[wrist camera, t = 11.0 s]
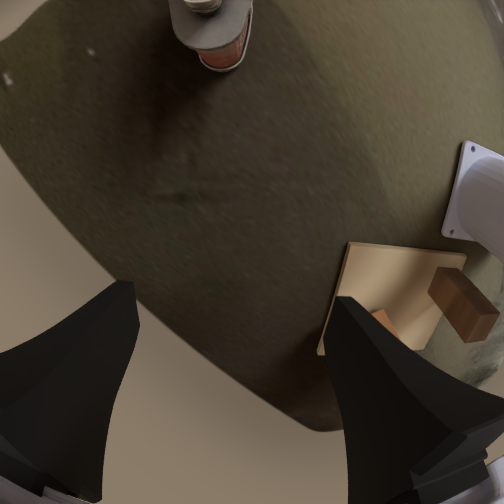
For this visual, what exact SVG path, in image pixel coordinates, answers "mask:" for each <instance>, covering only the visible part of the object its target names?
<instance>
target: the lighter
mask: <svg viewBox="0 0 504 504" xmlns="http://www.w3.org/2000/svg"><path fill="white" fill-rule="evenodd" d="M252 4H253V0H169V7H170V13H171V19H172V25H173V30H174V32H175V34H176V37H177V38H178V39H179V40H180V41H181V42H182V43H183V44H185V45H186V46H187V47H188V48H191V49H194V50H196V51H197V53H198V54H199V58H200V60H201V62H202V63H203V64H204V65H205V66H206V67H207V68H208V69H211V70H213V71H217V72H226V71H231V70H233V69H235V68H237V67H238V66H239V65H240V64H241V63H242V61H243V60H244V57H245V53H246V49H247V45H248V41H249V37H250V29H251V21H252V12H253V9H252Z"/></svg>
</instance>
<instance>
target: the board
mask: <svg viewBox="0 0 504 504" xmlns="http://www.w3.org/2000/svg"><path fill="white" fill-rule="evenodd" d="M466 259H467V256H466V255H465V254H464V253H456V252H447V251H437V250H428V249H419V248H409V247H399V246H389V245H379V244H369V243H358V242H348V245H347V249H346V253H345V257H344V260H343V264H342V268H341V272H340V275H339V279H338V283H337V286H336V290H335V293H334V297H333V300H332V304H331V307H330V310H329V313H328V317H327V320H326V323H325V326H324V330H323V333H322V336H321V339H320V342H319V345H318V348H317V354H318V355H325V351H324V344H323V335H324V331H325V329H326V326H327V323H328V319H329V316H330V313H331V310H332V306H333V303H334V300H335V296H351V297H353V298H354V299H355V300H356V301H357V302H358V303H360V304H361V305H362V306H363V307H364V308H365V309H366V310H367V311H368V312H369V313H370V314H372V313H375V312H377V311H380V310H382V309H384V311H385V313H386V315H387V316H388V318H389V320H390V322H391V323H392V325H393V327H394V329H395V331H396V332H397V334H398V336H399V338H400V340H401V341H402V342H403V343H404V344H405V345H406V346H408V347H409V348H410V349H411V350H421V349H424V347H425V345H426V344H427V342H428V340H429V338H430V336H431V335H432V333H433V331H434V329H435V327H436V325H437V323H438V321H439V319H440V317H441V315H442V311H441V310H440V309H439V307H438V306H437V305H436V303H435V302H434V301H433V299H432V298H431V297H430V296H429V294H428V293H427V291H428V289H429V287H430V284H431V282H432V279H433V277H434V274H435V272H436V269H437V267H449V268H458V269H459V270H460V271H462V269H463V266H464V264H465V261H466Z"/></svg>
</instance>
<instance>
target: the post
mask: <svg viewBox="0 0 504 504" xmlns="http://www.w3.org/2000/svg"><path fill="white" fill-rule="evenodd" d="M427 293H428V294H429V296H430V297H431V298H432V299H433V301H434V302H435V303H436V305H437V306H438V307H439V309H440V310H441V311H442V313H443V314H444V315H445V317H446V318H447V319H448V321H449V322H450V323H451V325H452V326H453V328H454V329H455V330H456V332H457V333H458V335H459V336H460V337H461V339H462V340H463V342H464V343H471V342H477V341H483V340H485V339H486V338H487V336H488V334H489V333H490V331H491V329H492V327H493V326H494V324H495V322H496V320H497V319H498V317H499V315H500V312H499V311H498V310H497V309H496V308H495V307H494V306H493V305H492V303H491V302H490V301H489V300H488V299H487V298H486V297H485V296H484V295H483V294H482V293H481V291H480V290H479V289H478V288H477V287H476V286H475V285H474V284H473V283H472V282H471V281H470V280H469V279H468V278H467V277H466V276H465V275H464V274H463V273H462V272H461V271H460V270H459V269H458V268H449V267H437V269H436V272H435V274H434V277H433V279H432V282H431V284H430V287H429V289H428V291H427Z"/></svg>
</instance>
